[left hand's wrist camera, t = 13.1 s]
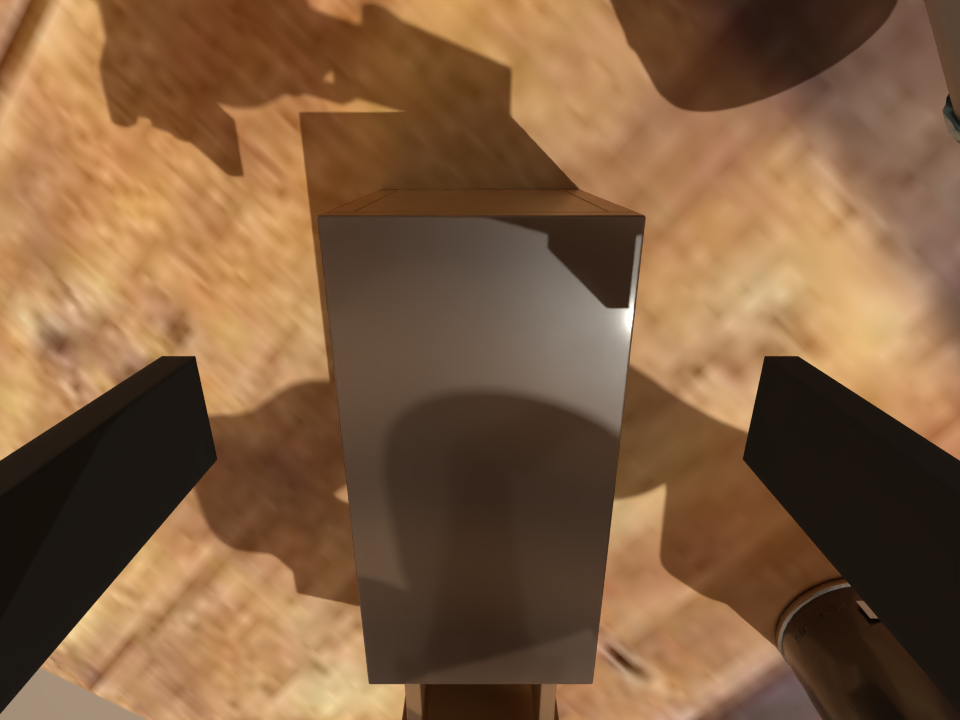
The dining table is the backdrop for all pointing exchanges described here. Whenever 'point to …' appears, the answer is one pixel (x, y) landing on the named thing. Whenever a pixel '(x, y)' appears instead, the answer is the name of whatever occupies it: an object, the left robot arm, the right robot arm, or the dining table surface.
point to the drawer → (480, 702)
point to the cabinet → (481, 423)
